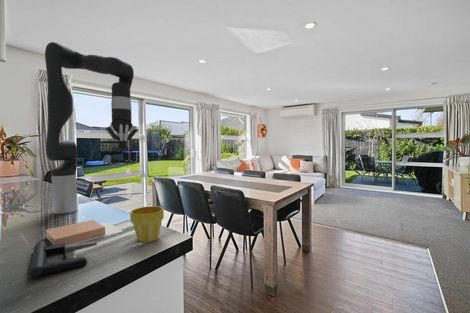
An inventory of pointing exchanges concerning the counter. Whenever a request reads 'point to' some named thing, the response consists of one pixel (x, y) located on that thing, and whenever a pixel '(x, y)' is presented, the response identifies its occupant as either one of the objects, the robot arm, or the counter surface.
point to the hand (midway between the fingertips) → (122, 150)
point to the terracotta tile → (74, 232)
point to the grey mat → (108, 231)
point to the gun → (42, 269)
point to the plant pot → (147, 222)
